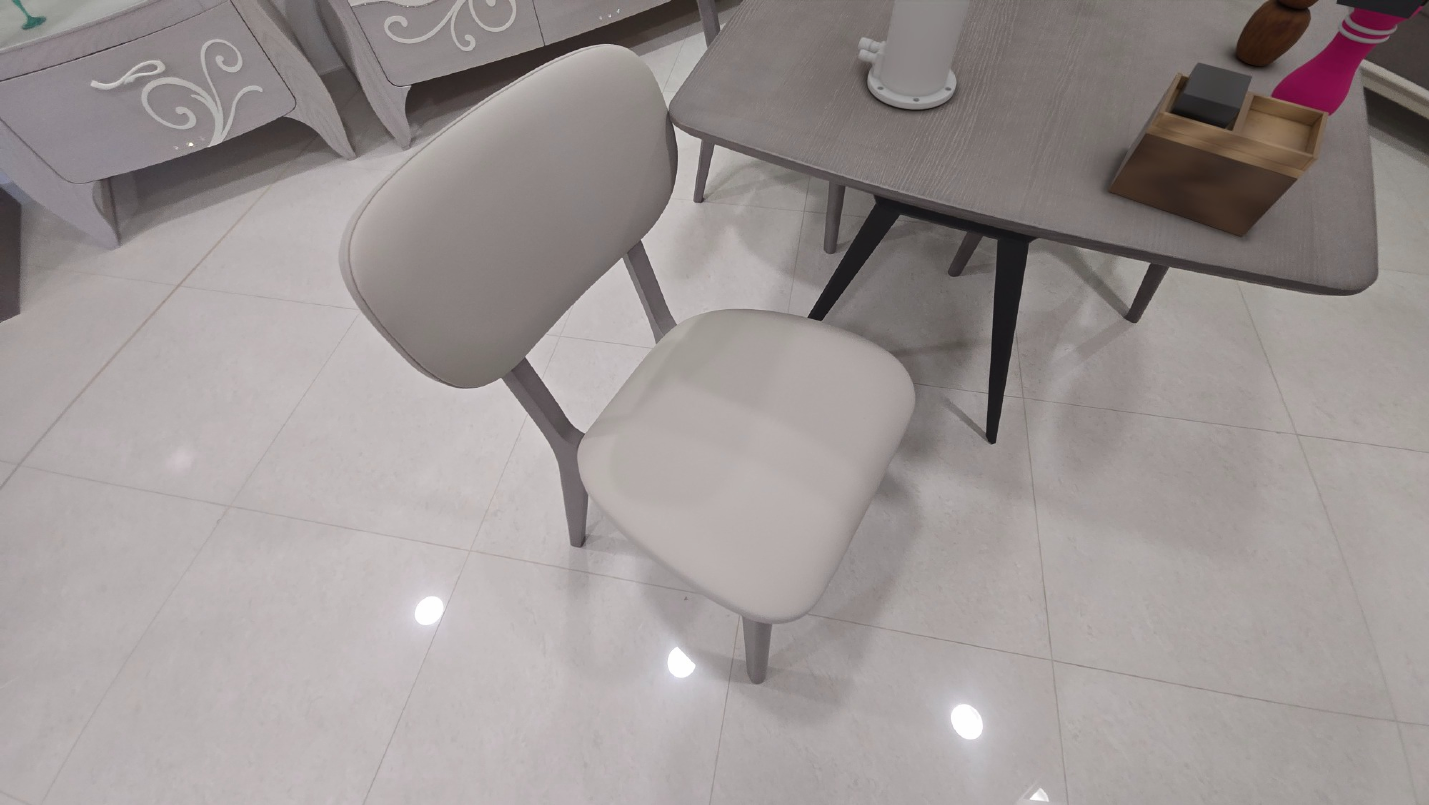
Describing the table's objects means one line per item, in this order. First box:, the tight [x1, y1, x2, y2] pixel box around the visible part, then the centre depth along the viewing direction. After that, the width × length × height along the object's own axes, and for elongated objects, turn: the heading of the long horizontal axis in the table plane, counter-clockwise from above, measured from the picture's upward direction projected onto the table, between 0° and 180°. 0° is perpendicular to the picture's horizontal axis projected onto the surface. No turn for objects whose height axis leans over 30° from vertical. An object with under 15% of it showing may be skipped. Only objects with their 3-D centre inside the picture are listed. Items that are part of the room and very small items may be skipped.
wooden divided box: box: [1107, 62, 1329, 237], centre depth 68 cm, size 15×9×12 cm, turn 56°
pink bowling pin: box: [1270, 5, 1425, 117], centre depth 70 cm, size 7×7×20 cm
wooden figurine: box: [1235, 0, 1319, 67], centre depth 81 cm, size 7×6×15 cm
